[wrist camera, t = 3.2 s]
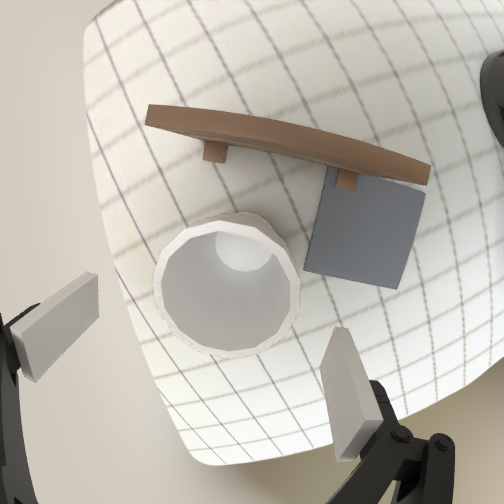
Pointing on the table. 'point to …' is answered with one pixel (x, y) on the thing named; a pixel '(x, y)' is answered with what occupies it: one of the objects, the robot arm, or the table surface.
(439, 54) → the table surface
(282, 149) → the screen
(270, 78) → the table surface
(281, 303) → the foam cup
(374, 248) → the mat
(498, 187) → the table surface
